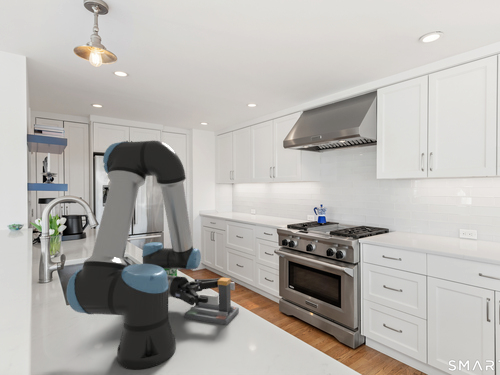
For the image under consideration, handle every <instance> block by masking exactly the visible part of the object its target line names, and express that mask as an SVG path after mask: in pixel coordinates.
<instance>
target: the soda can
mask: <svg viewBox="0 0 500 375" xmlns="http://www.w3.org/2000/svg"><path fill="white" fill-rule="evenodd" d="M164 270H165V271H166V273H167V275H171V276H178V269H164Z"/></svg>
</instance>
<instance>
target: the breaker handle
mask: <svg viewBox="0 0 500 375" xmlns="http://www.w3.org/2000/svg"><path fill="white" fill-rule="evenodd" d="M231 282H232V278H231V277H220V279H219V280H218V285H219V289H218V304H219V311H223V312H228V313H229V312H230V311H231V306H232V305H231V290H230V283H231Z"/></svg>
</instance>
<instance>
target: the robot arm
mask: <svg viewBox="0 0 500 375" xmlns="http://www.w3.org/2000/svg"><path fill="white" fill-rule="evenodd" d="M102 163H103V164H104V165H103V168H104V171H105V173H106V174H107V178H108V180H109V181H110V185H109V188H108V192H107V196H106V200H105V203H104V208H103V211H102V215H101V220H100V223H99V227H98V230H97V234H96V239H95V242H94V246H93V250H92V253H91V256H89V257H88V258H87V259H86V260H84V262H83V264H82V268H80V269H77V270H75V271H74V272H73V275H71V276H70V278H69V279H68V282H67V285H66V299H67V303H68V304H69V307H70V308H71V309H72V310H73V311H75V312H77V313H79V314H87V315H110V316H122V317H123V330H122V333H121V336H120V341H119V345H118V346H117V350H116V360H117V364H119V365H120V366H121V367H123V368H125V369H130V370H143V369H148V368H149V369H150V368H152V367H156V366H158V365H160V364H163V363H164V362H166V361H167V360H169V359H170V358H171V357H172V356H173V355H174V354H175V352H176V348H177V345H176V344H177V343H176V342H177V340H176V337H175V334H174V333H173V329H172V326H171V324H170V323H171V322H170V319H169V318H170V317H169V298H174V299H177V300H181V301H182V302H184V303H186V304H188V305H190V306H195V305H196V306H198V305H199V302H200V303H206V304H213V305H218V304H219V295H214V294H207V293H200V294H198V292H202V291H203V290H208V289H210V290H211V289H215V288H217V289H218V290H219V285H218V280H219V279H221V277H220V278H219V277H217V278H205V279H204V278H202V279H200V278H199V279H198V278H195V279H194V281H189V280H188V278H187V277H185V276H178V275H177V276H171V275H167V273H166V271H165V270H164V269H177V270H197V269H198V268H199V266H200V264H201V261H202V254H201V251H200V249H199V248H194V246H193V240H192V234H191V233H192V232H191V225H190V219H189V218H190V217H189V211H188V206H187V199H186V192H185V191H186V190H185V184H184V182H185V180H186V179H187V178H186V172H185V168H184V165H183V163H182V161H181V159H180V157H179V155H178V154H177V153H176V151H174V149H173V148H172V147H170V145H168V144H167V143H165V142H162V141H159V140H145V141H121V142H114V143H112V144H111V145H109V146H108V147H107V149H106V150H105V151H104V154H103V158H102ZM147 176H153V177H155V178H156V179H155V180H156V183H157V184H158V185H159V186H160V189H161V194H162V199H163V205H164V210H165V215H166V220H167V221H166V222H167V228H168V234H169V239H170V242H171V248H167V247H166V248H165V247H164V245H163V243H162V242H158V241H157V242H156V241H154V242H146V243H145V244H143V246H142V255H141V257H142V263H140V264H139V263H134V264H129V265H128V264H127V262H126V260H125V259H124V257H125V255H126V254H125V253H126V249H127V245H128V239H129V234H130V231H131V225H132V220H133V216H134V212H135V207H136V203H137V198H138V193H139V188H140V187H142V186H144V185H145V183H146V179H147ZM235 288H236V284H235V282H234V281H231V283H230V291H235V290H236V289H235Z"/></svg>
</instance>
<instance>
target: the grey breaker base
mask: <svg viewBox="0 0 500 375" xmlns="http://www.w3.org/2000/svg"><path fill="white" fill-rule="evenodd" d="M239 309H240V308H239V307H236V306H232V305H231V311H230V312H229V313H228V312H223V311H219V303H218V305H213V304H206V303H200V302H199V305H198V306H196V305H195V304H194V305H193V306H191V307H190V308H189V309H188V310H187V311H186V312H184V319H190V320H195V321H201V322H202V321H203V322H206V323H207V322H208V323H214V324H220V325H226V326H227V325H228V324H229V323H230V322H231V321H232V320H233V319H234V317H236V316H237V314H239V312H240V310H239Z"/></svg>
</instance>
